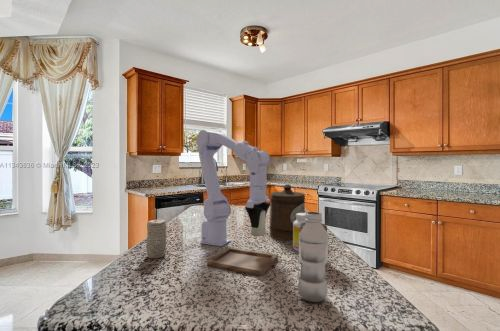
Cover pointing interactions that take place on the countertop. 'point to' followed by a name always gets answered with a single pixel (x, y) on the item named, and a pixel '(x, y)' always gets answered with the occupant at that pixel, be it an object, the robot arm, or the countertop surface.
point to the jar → (300, 247)
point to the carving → (156, 238)
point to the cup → (261, 228)
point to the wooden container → (285, 212)
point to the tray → (243, 261)
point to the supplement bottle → (297, 229)
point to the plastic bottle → (313, 259)
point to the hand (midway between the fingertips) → (258, 225)
